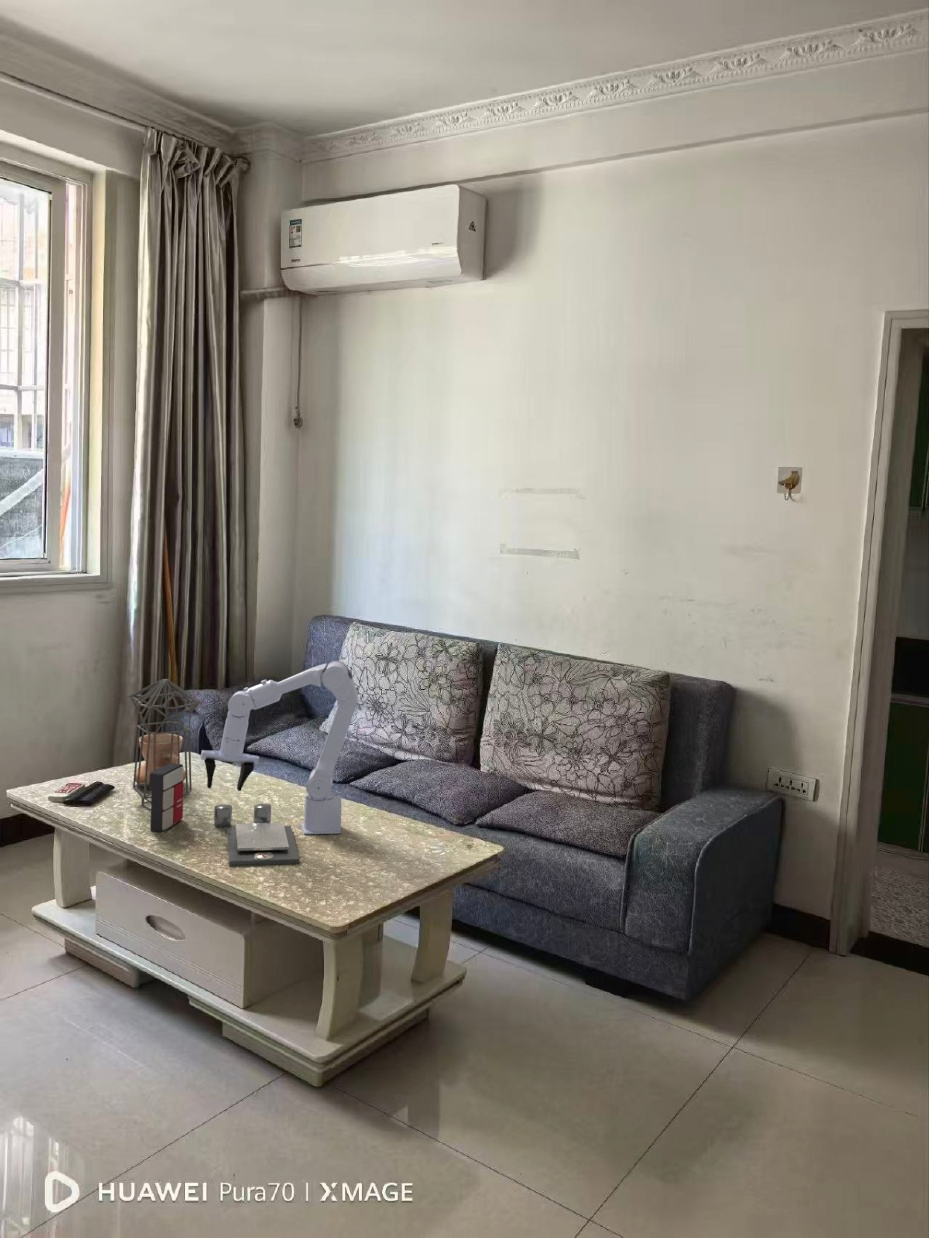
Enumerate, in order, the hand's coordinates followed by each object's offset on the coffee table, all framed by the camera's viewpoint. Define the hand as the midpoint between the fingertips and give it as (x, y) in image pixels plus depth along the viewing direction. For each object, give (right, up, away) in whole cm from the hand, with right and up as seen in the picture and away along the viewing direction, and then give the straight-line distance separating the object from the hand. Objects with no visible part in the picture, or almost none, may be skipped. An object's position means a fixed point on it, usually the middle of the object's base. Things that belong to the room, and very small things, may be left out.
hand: (223, 788), depth 256 cm
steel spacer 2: (+9, -10, +4) cm, 14 cm away
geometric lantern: (-20, -7, +14) cm, 26 cm away
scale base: (+12, -12, -12) cm, 21 cm away
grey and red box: (-14, -10, -1) cm, 17 cm away
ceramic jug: (-26, -5, +32) cm, 42 cm away
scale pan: (+12, -10, -11) cm, 19 cm away
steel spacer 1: (-1, -10, +2) cm, 10 cm away
